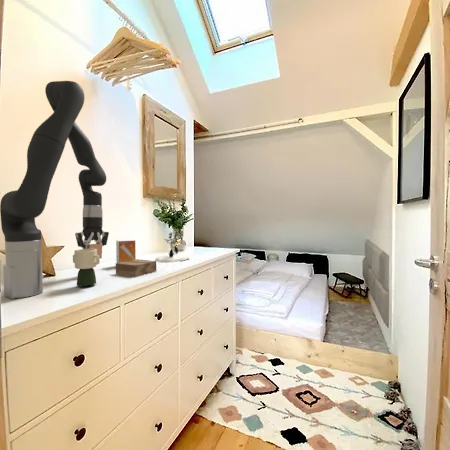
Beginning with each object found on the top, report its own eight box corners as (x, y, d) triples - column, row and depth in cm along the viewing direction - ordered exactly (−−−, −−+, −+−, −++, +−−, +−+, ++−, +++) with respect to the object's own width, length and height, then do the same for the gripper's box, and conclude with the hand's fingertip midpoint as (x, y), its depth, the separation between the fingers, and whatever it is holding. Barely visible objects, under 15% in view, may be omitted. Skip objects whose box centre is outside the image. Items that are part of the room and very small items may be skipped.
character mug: (106, 284, 96) (105, 248, 95) (92, 289, 89) (91, 251, 88) (81, 282, 98) (80, 248, 98) (65, 287, 91) (64, 250, 91)
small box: (119, 267, 127) (118, 241, 127) (116, 265, 132) (115, 240, 132) (136, 266, 131) (135, 240, 131) (132, 264, 137) (132, 239, 136)
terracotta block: (90, 259, 108) (90, 245, 108) (83, 258, 110) (83, 244, 110) (101, 258, 112) (101, 244, 112) (94, 257, 115) (94, 243, 115)
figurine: (170, 254, 164) (169, 229, 162) (195, 256, 156) (194, 229, 154) (148, 263, 146) (146, 234, 144) (175, 265, 138) (173, 235, 136)
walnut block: (135, 277, 107) (135, 265, 107) (115, 274, 113) (115, 263, 113) (156, 272, 118) (156, 261, 118) (137, 269, 124) (137, 259, 123)
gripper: (80, 215, 103) (80, 259, 103) (113, 216, 115) (113, 255, 115) (70, 216, 107) (70, 257, 107) (102, 216, 119) (103, 254, 119)
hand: (92, 256), depth 111 cm, fingers closed on terracotta block, 5 cm apart
